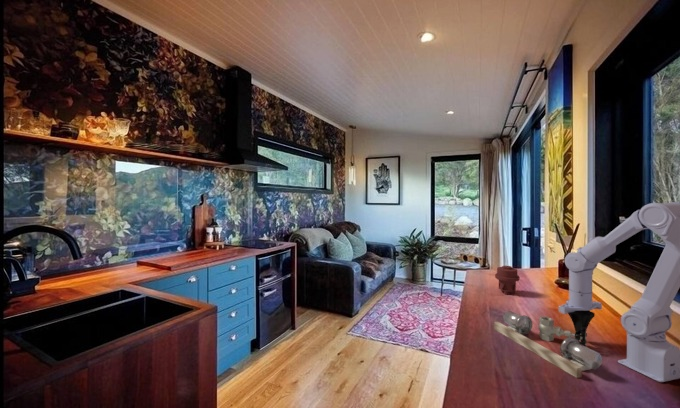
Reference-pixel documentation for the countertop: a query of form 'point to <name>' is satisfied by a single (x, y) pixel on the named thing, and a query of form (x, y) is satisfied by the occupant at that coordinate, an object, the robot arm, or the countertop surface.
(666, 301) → the robot arm
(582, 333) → the valve
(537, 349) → the backing rail
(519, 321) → the pipe line
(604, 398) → the countertop surface
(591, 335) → the countertop surface
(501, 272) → the mechanical component
